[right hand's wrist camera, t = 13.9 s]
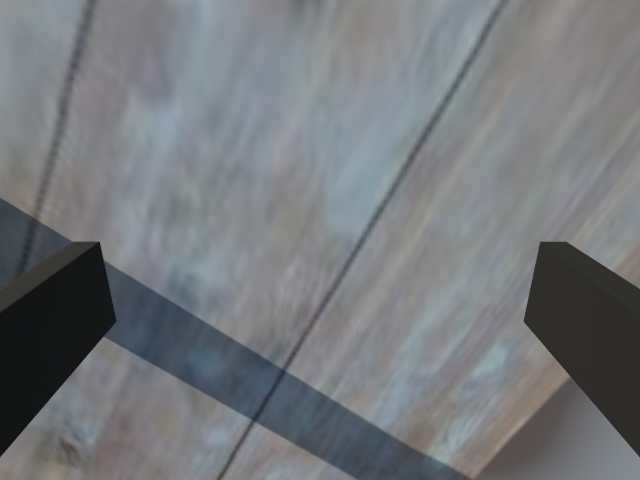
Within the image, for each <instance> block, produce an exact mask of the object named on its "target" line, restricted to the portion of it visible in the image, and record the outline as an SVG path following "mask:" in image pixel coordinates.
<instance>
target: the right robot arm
mask: <svg viewBox="0 0 640 480" xmlns="http://www.w3.org/2000/svg"><path fill="white" fill-rule="evenodd" d="M115 322H116V317H115V312H114V308H113V303H112V298H111V293H110V289H109V284H108V279H107V274H106V270H105V265H104V260H103V255H102V251H101V246H100V242H73V243H71V244H70V245H68V246H67V247H65V248H63V249H62V250H60V251H59V252H57V253H56V254H54V255H53V256H51V257H49V258H48V259H46V260H45V261H43V262H42V263H40V264H39V265H37V266H35V267H34V268H32V269H31V270H29V271H28V272H26V273H25V274H23V275H21V276H20V277H18V278H17V279H15V280H14V281H12V282H11V283H9V284H7V285H6V286H4V287H3V288H1V289H0V457H1V456H2V454H3V453H4V452H5V451H6V450H7V449H8V447H9V446H10V445H11V444H12V443H13V442H14V440H15V439H16V438H17V437H18V436H19V435H20V433H21V432H22V431H23V430H24V429H25V428H26V426H27V425H28V424H29V423H30V422H31V421H32V419H33V418H34V417H35V416H36V415H37V414H38V412H39V411H40V410H41V409H42V408H43V407H44V405H45V404H46V403H47V402H48V401H49V400H50V398H51V397H52V396H53V395H54V394H55V393H56V391H57V390H58V389H59V388H60V387H61V386H62V384H63V383H64V382H65V381H66V380H67V379H68V377H69V376H70V375H71V374H72V373H73V372H74V370H75V369H76V368H77V367H78V366H79V365H80V363H81V362H82V361H83V360H84V359H85V358H86V356H87V355H88V354H89V353H90V352H91V351H92V349H93V348H94V347H95V346H96V345H97V344H98V342H99V341H100V340H101V339H102V338H103V337H104V335H105V334H106V333H107V332H108V331H109V329H110V328H111V327H112V326H113V325H114V324H115ZM524 322H525V324H526V325H527V326H528V327H529V328H530V329H531V331H532V332H533V333H534V334H535V335H536V337H537V338H538V339H539V340H540V341H541V342H542V344H543V345H544V346H545V347H546V348H547V349H548V351H549V352H550V353H551V354H552V355H553V356H554V358H555V359H556V360H557V361H558V362H559V363H560V365H561V366H562V367H563V368H564V369H565V370H566V372H567V373H568V374H569V375H570V376H571V377H572V379H573V380H574V381H575V382H576V383H577V384H578V386H579V387H580V388H581V389H582V390H583V391H584V393H585V394H586V395H587V396H588V397H589V398H590V400H591V401H592V402H593V403H594V404H595V405H596V407H597V408H598V409H599V410H600V411H601V412H602V414H603V415H604V416H605V417H606V418H607V419H608V421H609V422H610V423H611V424H612V425H613V426H614V428H615V429H616V430H617V431H618V432H619V433H620V435H621V436H622V437H623V438H624V439H625V440H626V442H627V443H628V444H629V445H630V446H631V447H632V449H633V450H634V451H635V452H636V453H637V454H638V456H639V457H640V289H639V288H637V287H636V286H634V285H633V284H631V283H629V282H628V281H626V280H625V279H623V278H622V277H620V276H619V275H617V274H615V273H614V272H612V271H611V270H609V269H608V268H606V267H605V266H603V265H601V264H600V263H598V262H597V261H595V260H594V259H592V258H591V257H589V256H587V255H586V254H584V253H583V252H581V251H580V250H578V249H577V248H575V247H573V246H572V245H570V244H569V243H567V242H540V246H539V251H538V255H537V260H536V265H535V270H534V274H533V279H532V284H531V289H530V293H529V298H528V303H527V308H526V312H525V317H524Z"/></svg>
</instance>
